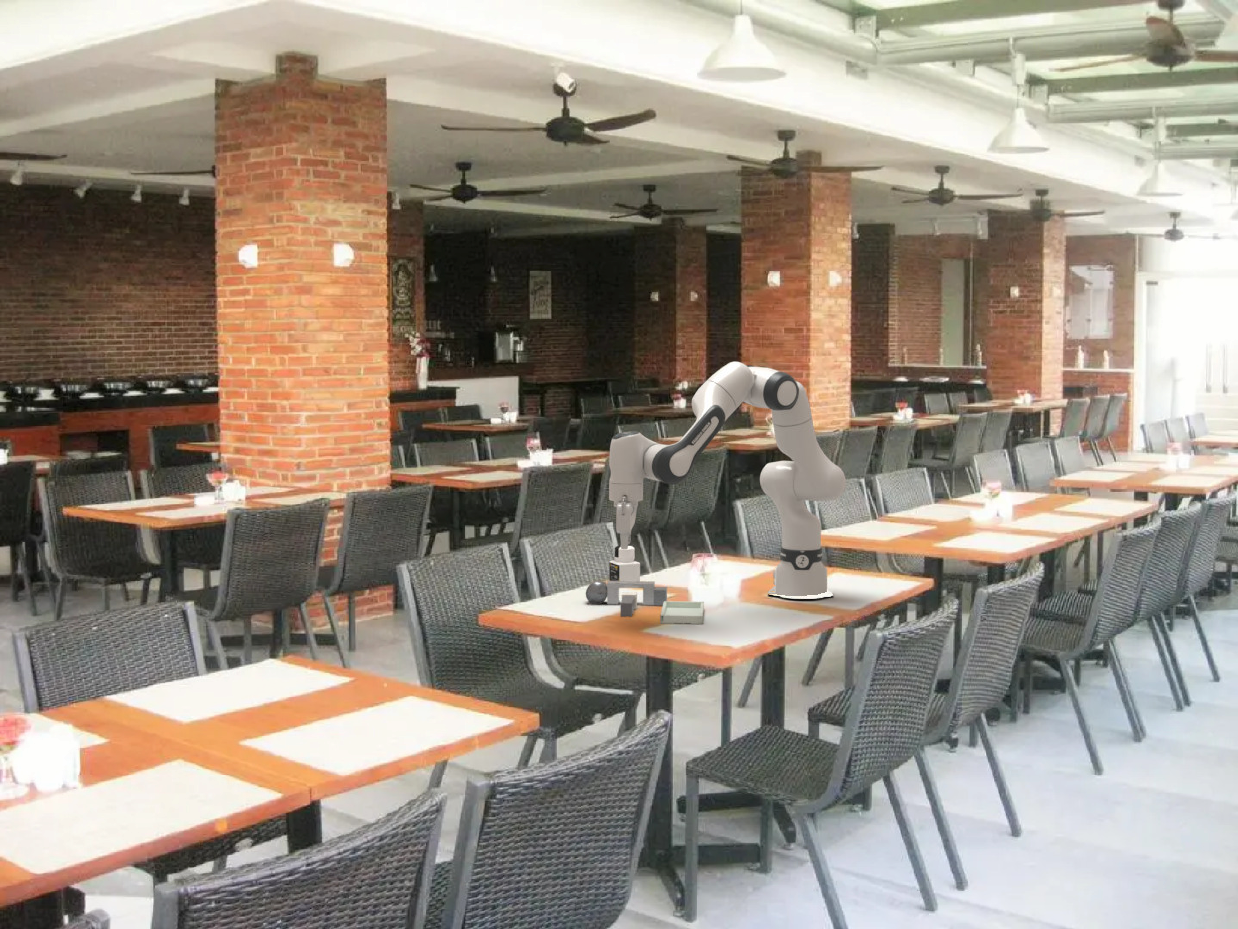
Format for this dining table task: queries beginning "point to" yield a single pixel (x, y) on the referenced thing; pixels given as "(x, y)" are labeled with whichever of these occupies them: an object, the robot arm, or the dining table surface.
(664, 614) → the tray
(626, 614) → the dark grey rectangular bar
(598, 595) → the housing
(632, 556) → the medicine bottle
